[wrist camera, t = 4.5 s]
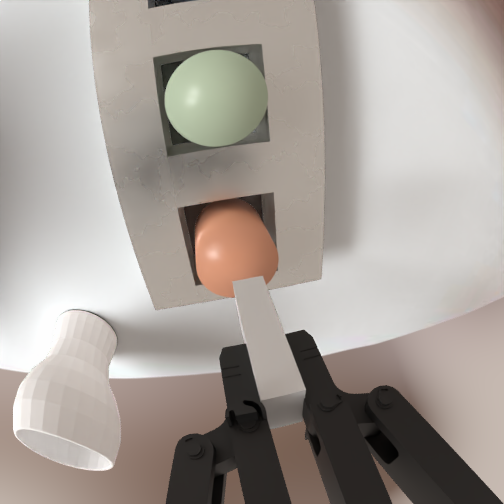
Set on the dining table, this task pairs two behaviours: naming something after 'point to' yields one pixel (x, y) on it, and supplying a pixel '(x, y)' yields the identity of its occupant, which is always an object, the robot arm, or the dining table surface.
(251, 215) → the button terracotta
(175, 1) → the button slate
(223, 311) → the dining table surface
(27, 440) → the cup
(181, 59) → the panel
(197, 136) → the button sage
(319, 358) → the robot arm
